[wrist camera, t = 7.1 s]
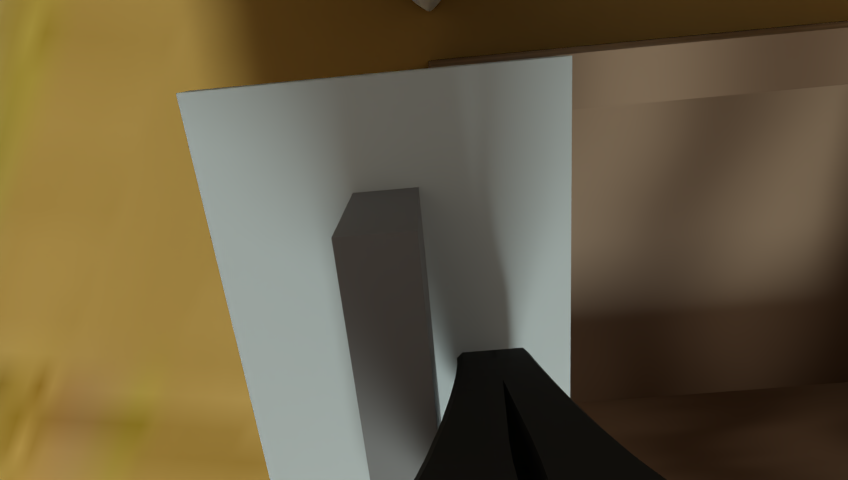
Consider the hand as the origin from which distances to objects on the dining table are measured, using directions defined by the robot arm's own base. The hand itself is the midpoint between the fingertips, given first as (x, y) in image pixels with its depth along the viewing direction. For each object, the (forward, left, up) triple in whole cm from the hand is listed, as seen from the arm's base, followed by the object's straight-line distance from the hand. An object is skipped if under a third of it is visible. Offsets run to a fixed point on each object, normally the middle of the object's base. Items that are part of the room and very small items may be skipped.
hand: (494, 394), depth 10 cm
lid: (+2, 0, -1) cm, 2 cm away
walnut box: (-6, 0, -7) cm, 9 cm away
